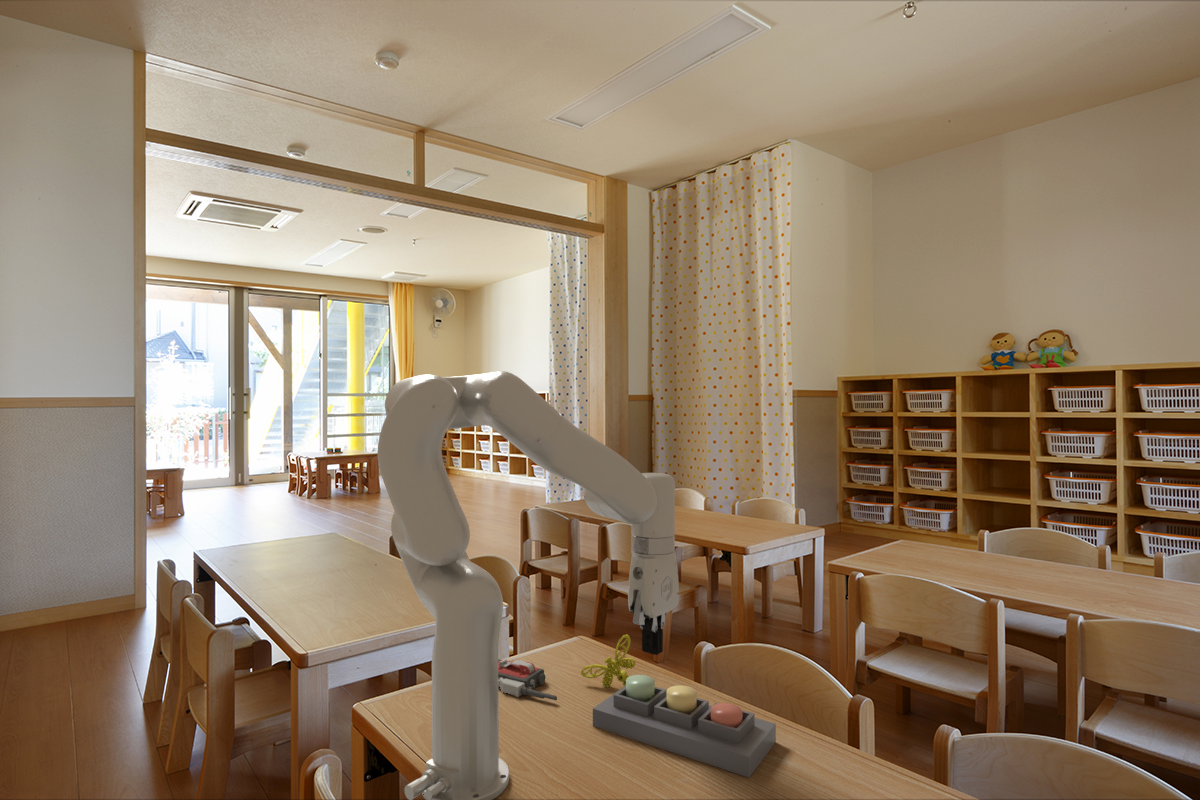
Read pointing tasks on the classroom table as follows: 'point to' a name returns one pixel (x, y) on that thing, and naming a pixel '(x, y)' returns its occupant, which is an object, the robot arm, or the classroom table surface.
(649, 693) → the sage button
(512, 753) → the classroom table surface
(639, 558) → the robot arm
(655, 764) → the classroom table surface
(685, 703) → the mustard button
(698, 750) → the button panel
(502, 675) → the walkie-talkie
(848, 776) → the classroom table surface
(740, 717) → the red button
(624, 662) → the decorative insect
